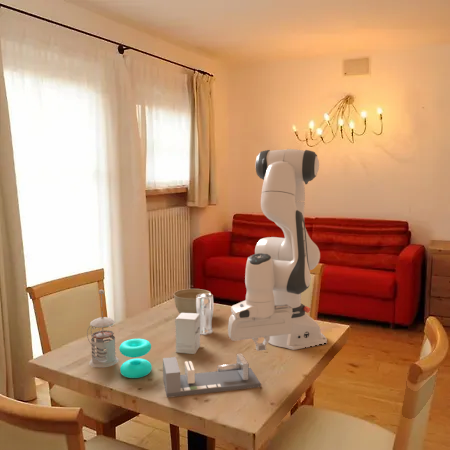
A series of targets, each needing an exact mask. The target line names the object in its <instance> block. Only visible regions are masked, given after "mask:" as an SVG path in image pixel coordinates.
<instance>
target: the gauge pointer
mask: <svg viewBox="0 0 450 450" xmlns="http://www.w3.org/2000/svg"><path fill="white" fill-rule="evenodd" d="M195 370H196V369H195V368H194V364H193V362H192V361H191V360H186V361H184V375H185V376H186V379H187V382H188V384H189V383H195V372H196V371H195Z"/></svg>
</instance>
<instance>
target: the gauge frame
mask: <svg viewBox="0 0 450 450" xmlns="http://www.w3.org/2000/svg"><path fill="white" fill-rule="evenodd" d="M162 375H163V376H162V381H163V385H164V391H165V394H166V398H174V397H181V396H192V395H193V396H194V395H200V394H201V395H202V394H209V393H217V392H218V393H219V392H220V393H221V392H226V391H229V392H230V391H236V390H245V389H254V388H255V389H256V388H261V382H260V379H258V377H257V376H256V374H255V372H254V371H253V370H252V368H251V367H249V376H248V380H243V379H242V377H241V376H240V374H239V372H238V370H236V371H226V372H218V370H216V371H215V370H213V371H205V372H196V373H195V383H189V384H188V382H187V379H186V376H185V374H181V370H180V367H179V364H178V360H177V357H176V356H172V357H163V358H162Z"/></svg>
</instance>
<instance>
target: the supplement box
mask: <svg viewBox="0 0 450 450" xmlns="http://www.w3.org/2000/svg"><path fill="white" fill-rule="evenodd" d="M200 347H201V334H200V314H198V313H179V314H178V315H177V317H176V318H175V353H176V354H177V353H178V354H190V355H191V354H192V355H195V354H196V353H197V352H198V349H199V348H200Z"/></svg>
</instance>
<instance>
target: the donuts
mask: <svg viewBox="0 0 450 450" xmlns="http://www.w3.org/2000/svg"><path fill="white" fill-rule="evenodd" d="M118 349H119V352H120V354H121V355H123V356H124V357H126V358H131V359H127V360H125V361H124V362H123V363H122V364H121V365H120V369H119V371H120V374H121V375H122V377H125V378H129V379H139V378H143V377H146V376H147V375H148V374H150V373H151V372H152V369H153V367H152V363H151V362H150V361H149V360H147V359H146V358H140V357H142V356H146V355H147V354H149V353H150V351H151V350H152V343H151V342H150V341H149V340H147V339H145V338H131V339H127V340H124V341H123V342H121V344H120V346H119V348H118Z"/></svg>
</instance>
